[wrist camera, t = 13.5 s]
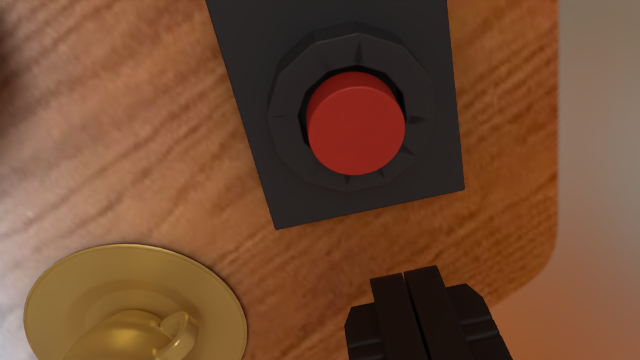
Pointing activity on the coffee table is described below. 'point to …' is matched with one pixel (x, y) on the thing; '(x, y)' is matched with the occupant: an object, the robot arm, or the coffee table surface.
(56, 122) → the coffee table surface
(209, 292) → the cup
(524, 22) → the coffee table surface
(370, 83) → the button
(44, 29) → the coffee table surface
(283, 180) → the button housing
